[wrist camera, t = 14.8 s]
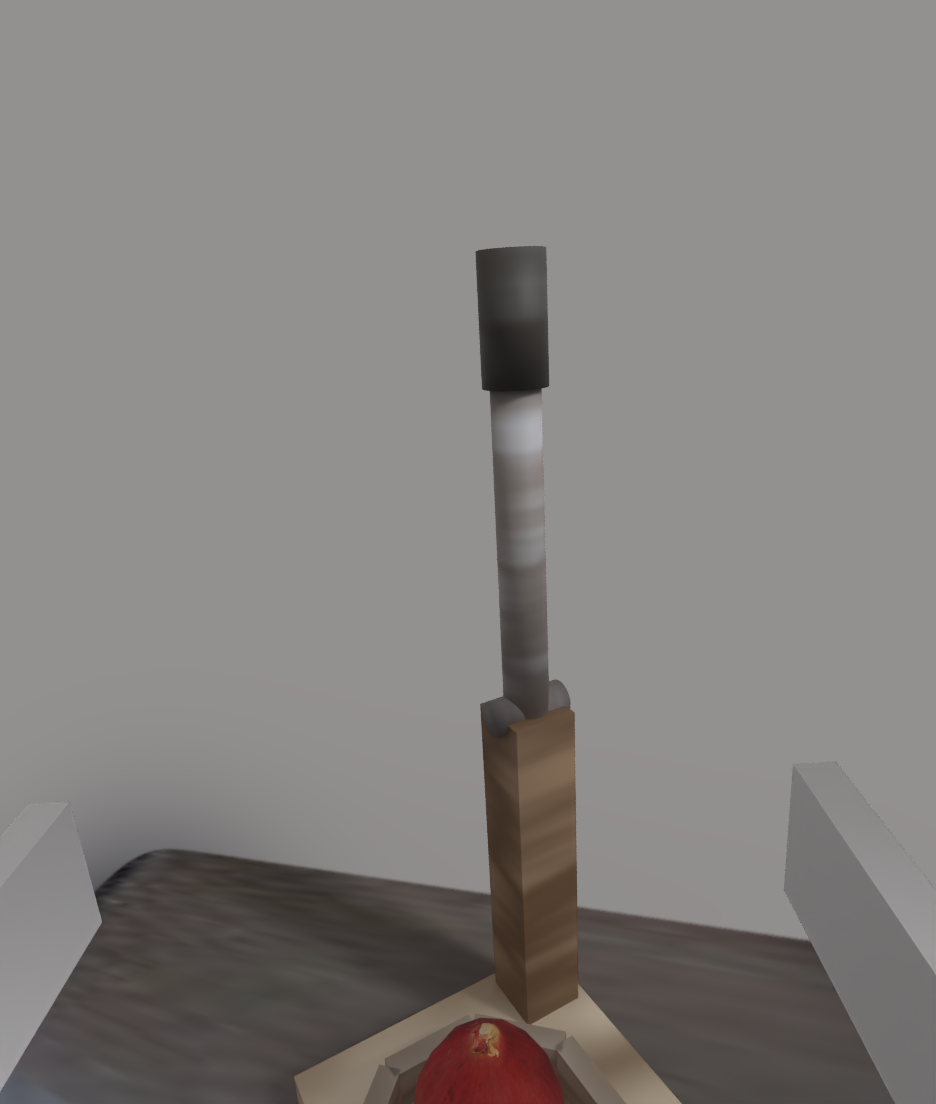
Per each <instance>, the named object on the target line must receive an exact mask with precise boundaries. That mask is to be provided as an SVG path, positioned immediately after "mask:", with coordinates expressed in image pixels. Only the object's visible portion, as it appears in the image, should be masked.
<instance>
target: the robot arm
mask: <svg viewBox="0 0 936 1104" xmlns="http://www.w3.org/2000/svg"><path fill="white" fill-rule="evenodd" d="M787 841H788V842H787V854H786V855H787V856H786V868H785V883H784V891H785V893H786V895H787V897H788V898H789V901H790V903H791V904H792V906H793V908H794V910H795V912H796V914H797V916H798V918H799V920H800V922H801V923H802V925H803V927H804V930H805V931H806V933H807V935H808V937H809V939H810V941H811V943H812V945H813V947H814V949H815V951H816V953H817V955H818V957H819V958H820V960H821V962H822V964H823V966H824V968H825V970H826V972H827V974H828V976H829V978H830V980H831V982H832V984H833V985H834V987H835V989H836V991H837V993H838V995H839V997H840V999H841V1001H842V1003H843V1005H844V1007H845V1009H846V1010H847V1012H848V1014H849V1016H850V1018H851V1020H852V1022H853V1024H854V1026H855V1028H856V1030H857V1032H858V1034H859V1036H860V1037H861V1039H862V1041H863V1043H864V1045H865V1047H866V1049H867V1051H868V1053H869V1055H870V1057H871V1059H872V1061H873V1063H874V1064H875V1066H876V1068H877V1070H878V1072H879V1074H880V1076H881V1078H882V1080H883V1082H884V1084H885V1086H886V1088H887V1090H888V1091H889V1093H890V1095H891V1097H892V1099H893V1101H894V1103H895V1104H936V889H935V888H934V887H933V886H932V885H931V883H930V882H929V880H928V879H927V878H926V877H925V875H924V874H923V873H922V871H921V870H920V869H919V868H918V866H917V865H916V864H915V862H914V861H913V860H912V859H911V857H910V856H909V855H908V853H907V852H906V851H905V850H904V848H903V847H902V846H901V844H900V843H899V842H898V840H897V839H896V838H895V837H894V835H893V834H892V833H891V832H890V830H889V829H888V828H887V826H886V825H885V824H884V822H883V821H882V820H881V819H880V817H879V816H878V815H877V813H876V812H875V811H874V810H873V808H872V807H871V806H870V804H869V803H868V802H867V801H866V799H865V798H864V797H863V795H862V794H861V793H860V792H859V790H858V789H857V788H856V786H855V785H854V784H853V783H852V781H851V780H850V779H849V777H848V776H847V775H846V773H845V772H844V771H843V770H842V768H841V767H840V766H839V764H838V763H837V762H822V763H804V764H793V771H792V785H791V798H790V812H789V826H788V840H787ZM101 923H102V920H101V916H100V913H99V909H98V905H97V901H96V898H95V894H94V890H93V887H92V883H91V879H90V875H89V872H88V868H87V864H86V860H85V857H84V853H83V849H82V846H81V842H80V838H79V835H78V831H77V827H76V823H75V819H74V816H73V812H72V808H71V805H70V802H59V803H58V802H56V803H38V804H28V805H27V807H26V808H25V809H24V810H23V811H22V813H21V814H19V816H18V817H17V818H16V819H15V820H14V821H13V822H12V824H11V825H10V826H9V827H8V828H7V829H6V830H5V831H4V833H3V834H2V835H1V836H0V1091H1V1090H2V1088H3V1086H4V1085H5V1083H6V1081H7V1080H8V1078H9V1076H10V1075H11V1073H12V1071H13V1070H14V1068H15V1066H16V1065H17V1063H18V1061H19V1060H20V1058H21V1056H22V1055H23V1053H24V1051H25V1050H26V1048H27V1046H28V1045H29V1043H30V1041H31V1040H32V1038H33V1036H34V1035H35V1033H36V1031H37V1030H38V1028H39V1026H40V1025H41V1023H42V1021H43V1020H44V1018H45V1016H46V1015H47V1013H48V1011H49V1010H50V1008H51V1006H52V1005H53V1003H54V1001H55V1000H56V998H57V996H58V995H59V993H60V991H61V990H62V988H63V986H64V985H65V983H66V981H67V980H68V978H69V976H70V975H71V973H72V971H73V970H74V968H75V966H76V965H77V963H78V961H79V960H80V958H81V956H82V955H83V953H84V951H85V950H86V948H87V946H88V945H89V943H90V941H91V940H92V938H93V936H94V935H95V933H96V931H97V930H98V928H99V926H100V925H101Z"/></svg>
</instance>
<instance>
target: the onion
mask: <svg viewBox="0 0 936 1104" xmlns="http://www.w3.org/2000/svg"><path fill="white" fill-rule="evenodd" d="M414 1104H564V1098H563V1091H562V1088H561V1085H560V1083H559V1080H558V1078H557V1075H556V1073H555V1071H554V1069H553V1066H552V1064H551V1062H550V1059H549V1057H548V1055H547V1053H546V1052H545V1051H544V1050H543V1049H542V1048H541V1046H540V1045H539V1044H538V1043H537V1042H536V1041H535V1040H534V1039H533V1038H532V1037H531V1036H530V1035H529V1034H528V1033H527V1032H526V1031H525V1030H523V1029H521V1028H519V1027H517V1026H515V1025H513V1024H511V1023H509V1022H507V1021H505V1020H503V1019H493V1018H478V1019H475V1020H472V1021H469V1022H466V1023H464V1024H461V1025H458V1026H456V1027H455V1028H454V1029H453V1030H452V1031H451V1032H450V1033H449V1034H448V1035H447V1036H446V1037H445V1039H444V1040H443V1041H442V1042H441V1043H440V1044H439V1045H438V1046H437V1047H436V1048H435V1049H434V1050H433V1051H432V1052H431V1054H430V1056H429V1058H428V1060H427V1061H426V1063H425V1065H424V1067H423V1069H422V1071H421V1073H420V1075H419V1077H418V1081H417V1085H416V1090H415V1099H414Z"/></svg>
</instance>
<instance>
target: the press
mask: <svg viewBox="0 0 936 1104" xmlns="http://www.w3.org/2000/svg"><path fill="white" fill-rule="evenodd" d="M476 271H477V292H478V313H479V334H480V355H481V376H482V389H483V390H487V391H490V404H491V426H492V449H493V471H494V492H495V493H494V494H495V516H496V538H497V561H498V583H499V606H500V628H501V651H502V674H503V697H500V698H497V699H494V700H491V701H488V702H485V703H482V704H480V705H481V723H482V741H483V760H484V779H485V797H486V815H487V833H488V851H489V869H490V888H491V906H492V925H493V943H494V961H495V973H494V974H492V975H490V976H488V977H486V978H484V979H482V980H481V981H479V982H477V983H475V984H473V985H471V986H469V987H467V988H465V989H463V990H461V991H459V992H457V993H455V994H453V995H451V996H449V997H447V998H446V999H444V1000H442V1001H440V1002H438V1003H436V1004H434V1005H432V1006H430V1007H428V1008H426V1009H424V1010H422V1011H420V1012H418V1013H416V1014H414V1015H412V1016H411V1017H409V1018H407V1019H405V1020H403V1021H401V1022H399V1023H397V1024H395V1025H393V1026H391V1027H389V1028H387V1029H385V1030H383V1031H381V1032H379V1033H377V1034H376V1035H374V1036H372V1037H370V1038H368V1039H366V1040H364V1041H362V1042H360V1043H358V1044H356V1045H354V1046H352V1047H350V1048H348V1049H346V1050H344V1051H342V1052H341V1053H339V1054H337V1055H335V1056H333V1057H331V1058H329V1059H327V1060H325V1061H323V1062H321V1063H319V1064H317V1065H315V1066H313V1067H311V1068H309V1069H307V1070H306V1071H304V1072H302V1073H300V1074H298V1075H296V1076H294V1081H295V1087H296V1093H297V1099H298V1104H414V1099H415V1090H416V1085H417V1081H418V1077H419V1075H420V1073H421V1071H422V1069H423V1067H424V1065H425V1063H426V1061H427V1060H428V1058H429V1056H430V1054H431V1052H432V1051H433V1050H434V1049H435V1048H436V1047H437V1046H438V1045H439V1044H440V1043H441V1042H442V1041H443V1040H444V1039H445V1037H446V1036H447V1035H448V1034H449V1033H450V1032H451V1031H452V1030H453V1029H454V1028H455V1027H456V1026H458V1025H461V1024H464V1023H466V1022H469V1021H472V1020H475V1019H478V1018H493V1019H503V1020H505V1021H507V1022H509V1023H511V1024H513V1025H515V1026H517V1027H519V1028H521V1029H523V1030H525V1031H526V1032H527V1033H528V1034H529V1035H530V1036H531V1037H532V1038H533V1039H534V1040H535V1041H536V1042H537V1043H538V1044H539V1045H540V1046H541V1048H542V1049H543V1050H544V1051H545V1052H546V1053H547V1055H548V1057H549V1059H550V1062H551V1064H552V1066H553V1069H554V1071H555V1073H556V1075H557V1078H558V1080H559V1083H560V1085H561V1088H562V1091H563V1098H564V1104H681V1102H680V1101H679V1100H678V1099H677V1098H676V1097H675V1095H674V1094H673V1093H672V1092H671V1091H670V1090H669V1088H668V1087H667V1086H666V1085H665V1084H664V1083H663V1082H662V1080H661V1079H660V1078H659V1077H658V1076H657V1075H656V1073H655V1072H654V1071H653V1070H652V1069H651V1068H650V1066H649V1065H648V1064H647V1063H646V1062H645V1061H644V1059H643V1058H642V1057H641V1056H640V1055H639V1054H638V1052H637V1051H636V1050H635V1049H634V1048H633V1047H632V1046H631V1044H630V1043H629V1042H628V1041H627V1040H626V1039H625V1037H624V1036H623V1035H622V1034H621V1033H620V1032H619V1030H618V1029H617V1028H616V1027H615V1026H614V1025H613V1023H612V1022H611V1021H610V1020H609V1019H608V1018H607V1017H606V1015H605V1014H604V1013H603V1012H602V1011H601V1010H600V1008H599V1007H598V1006H597V1005H596V1004H595V1003H594V1001H593V1000H592V999H591V998H590V997H589V996H588V994H587V993H586V992H585V991H584V990H583V989H582V988H581V986H580V985H579V984H578V935H577V862H576V792H575V791H576V790H575V724H574V723H575V716H574V712H573V711H572V710H570V698H569V694H568V692H567V690H566V688H565V686H564V685H563V684H562V683H561V682H560V681H559V680H552V681H549V676H548V636H547V601H546V600H547V599H546V598H547V596H546V555H545V516H544V478H543V477H544V475H543V433H542V394H541V388H545V387H548V386H549V357H548V315H547V313H548V312H547V266H546V247H543V246H526V247H525V246H524V247H506V248H493V249H485V250H479V251H476Z"/></svg>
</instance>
